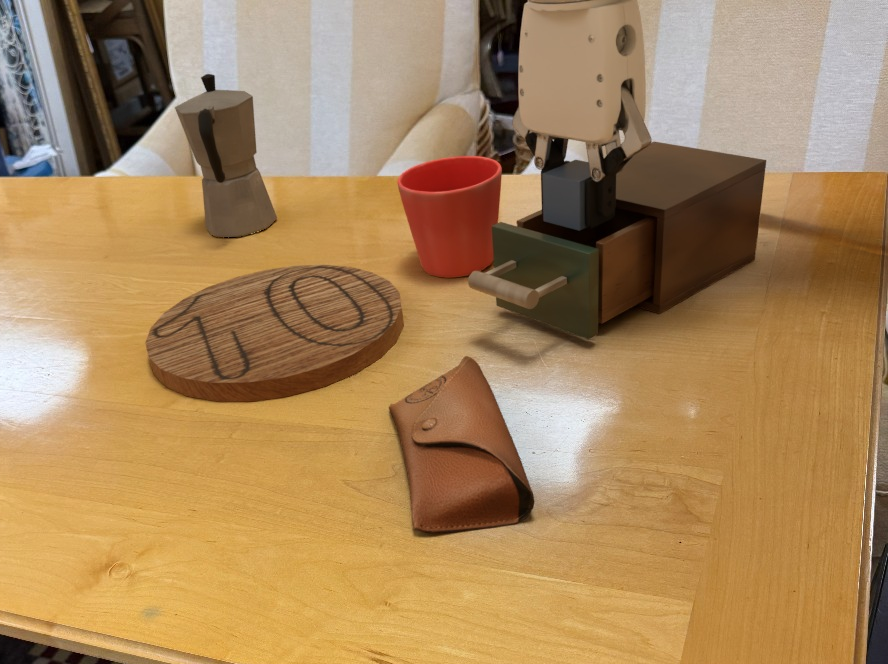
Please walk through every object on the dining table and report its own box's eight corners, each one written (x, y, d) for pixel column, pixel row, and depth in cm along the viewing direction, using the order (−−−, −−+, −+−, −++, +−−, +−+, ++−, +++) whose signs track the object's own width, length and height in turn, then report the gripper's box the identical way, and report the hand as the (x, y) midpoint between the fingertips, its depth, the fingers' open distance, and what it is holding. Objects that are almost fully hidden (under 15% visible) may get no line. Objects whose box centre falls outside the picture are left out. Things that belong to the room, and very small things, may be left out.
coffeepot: (213, 212, 122) (177, 67, 111) (282, 202, 121) (252, 56, 111) (195, 256, 110) (153, 98, 99) (272, 246, 109) (238, 86, 98)
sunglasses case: (381, 402, 75) (413, 332, 72) (456, 426, 77) (491, 359, 74) (413, 536, 61) (456, 456, 57) (504, 560, 63) (551, 485, 60)
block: (575, 206, 82) (575, 159, 80) (612, 215, 79) (613, 166, 77) (543, 221, 80) (541, 173, 78) (579, 231, 77) (579, 181, 75)
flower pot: (392, 283, 96) (379, 191, 90) (428, 242, 103) (419, 155, 98) (488, 287, 92) (482, 191, 86) (519, 244, 99) (515, 154, 94)
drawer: (547, 363, 76) (544, 275, 71) (455, 326, 84) (448, 244, 79) (687, 285, 84) (693, 201, 80) (592, 257, 92) (592, 180, 87)
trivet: (188, 433, 76) (182, 414, 75) (126, 327, 95) (121, 311, 94) (450, 343, 83) (448, 324, 82) (344, 261, 102) (341, 245, 101)
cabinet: (659, 314, 82) (665, 210, 77) (555, 281, 91) (553, 184, 85) (755, 259, 89) (766, 159, 83) (650, 233, 97) (653, 141, 92)
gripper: (702, -29, 65) (685, 222, 76) (531, -31, 76) (537, 187, 87) (634, -7, 61) (626, 252, 72) (465, -13, 73) (480, 212, 84)
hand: (577, 214), depth 79 cm, fingers closed on block, 4 cm apart
